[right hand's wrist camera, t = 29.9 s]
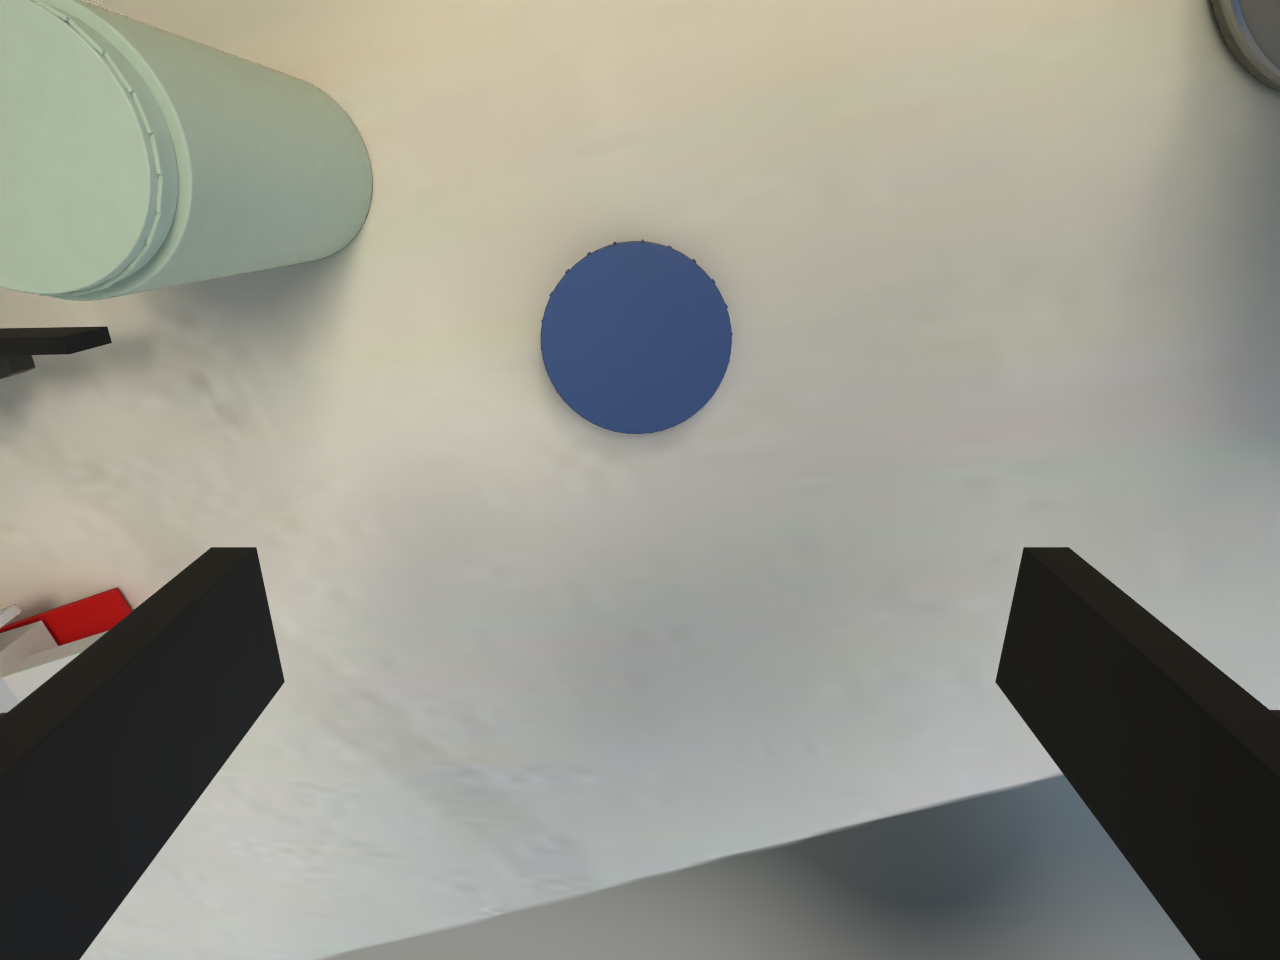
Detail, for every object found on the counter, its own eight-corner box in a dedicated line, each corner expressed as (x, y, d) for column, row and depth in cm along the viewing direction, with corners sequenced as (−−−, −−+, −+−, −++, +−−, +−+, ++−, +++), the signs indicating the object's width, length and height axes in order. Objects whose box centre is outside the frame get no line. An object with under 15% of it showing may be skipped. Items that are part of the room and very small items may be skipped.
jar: (332, 293, 38) (111, 360, 22) (173, 203, 36) (-189, 204, 21) (401, 139, 35) (205, 89, 19) (232, 34, 34) (-131, -114, 18)
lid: (595, 203, 36) (593, 203, 35) (764, 299, 38) (769, 303, 37) (512, 374, 40) (507, 380, 38) (672, 456, 41) (674, 465, 40)
